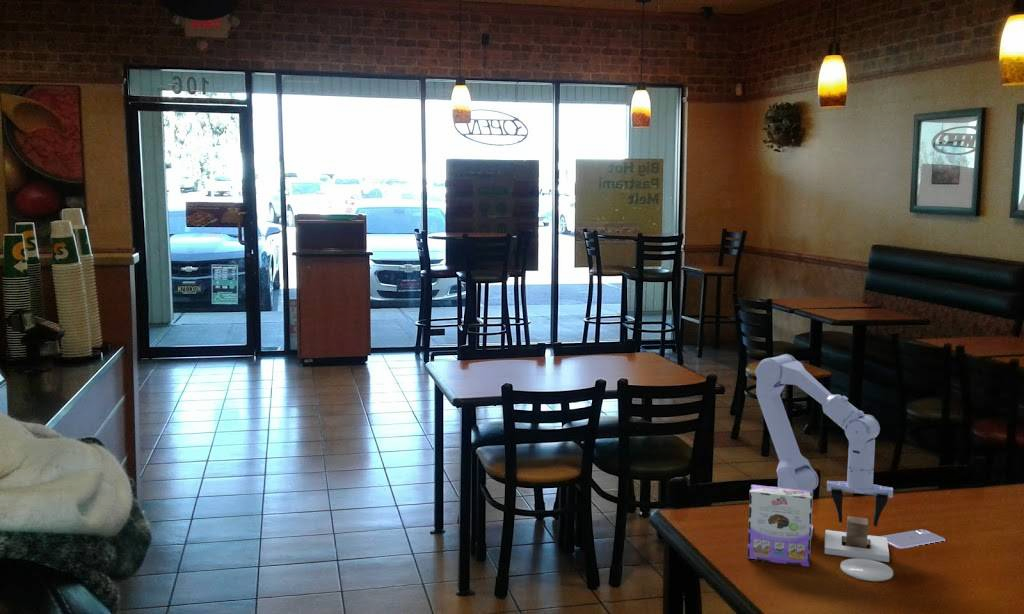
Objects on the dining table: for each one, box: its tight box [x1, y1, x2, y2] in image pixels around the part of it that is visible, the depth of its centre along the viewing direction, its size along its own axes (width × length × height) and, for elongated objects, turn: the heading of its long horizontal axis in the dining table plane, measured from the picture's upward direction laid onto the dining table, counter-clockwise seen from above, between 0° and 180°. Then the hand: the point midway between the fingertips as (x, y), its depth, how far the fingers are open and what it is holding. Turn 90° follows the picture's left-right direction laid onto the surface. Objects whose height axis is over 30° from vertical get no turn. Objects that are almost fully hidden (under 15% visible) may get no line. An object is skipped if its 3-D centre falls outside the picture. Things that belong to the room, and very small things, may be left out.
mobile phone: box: [880, 528, 946, 550], centre depth 222 cm, size 8×1×15 cm
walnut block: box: [845, 515, 869, 549], centre depth 216 cm, size 4×4×7 cm
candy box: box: [746, 484, 813, 568], centre depth 209 cm, size 14×6×16 cm, turn 71°
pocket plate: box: [824, 529, 890, 563], centre depth 216 cm, size 14×12×2 cm
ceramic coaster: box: [839, 558, 894, 582], centre depth 203 cm, size 11×11×1 cm
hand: (857, 522), depth 215 cm, fingers open, 7 cm apart
